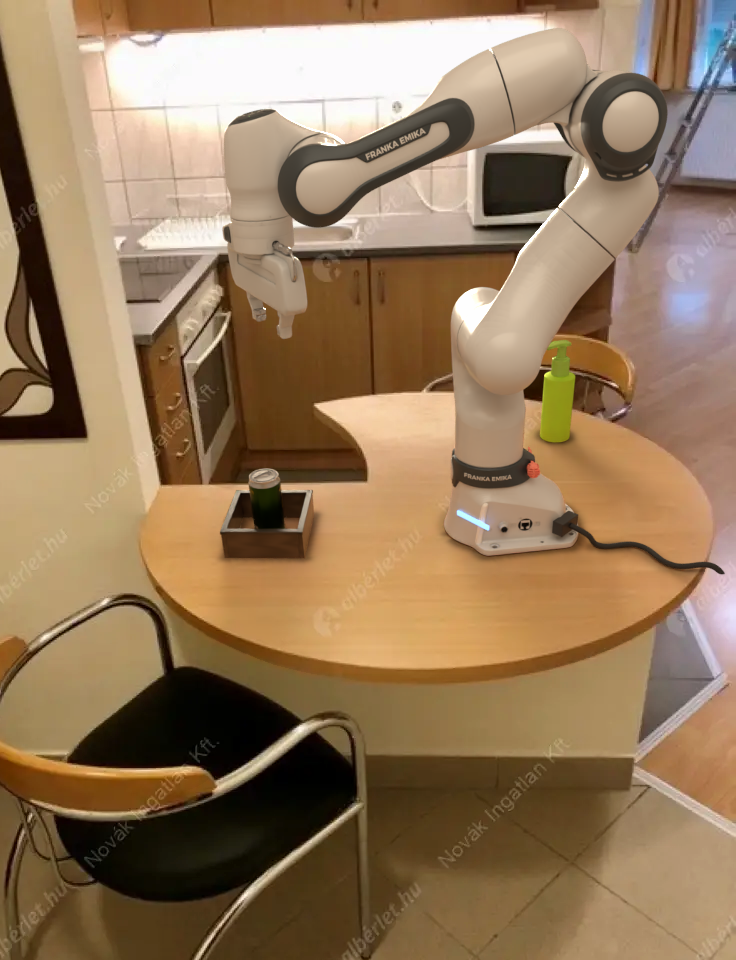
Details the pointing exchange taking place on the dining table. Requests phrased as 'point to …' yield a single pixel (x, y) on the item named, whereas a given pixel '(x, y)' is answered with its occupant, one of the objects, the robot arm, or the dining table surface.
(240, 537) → the basket
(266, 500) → the beer can
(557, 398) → the soap dispenser
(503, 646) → the dining table surface
